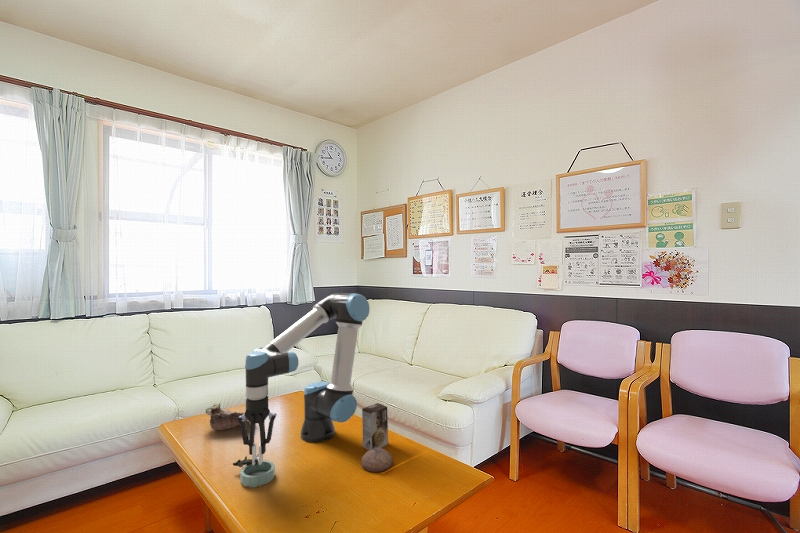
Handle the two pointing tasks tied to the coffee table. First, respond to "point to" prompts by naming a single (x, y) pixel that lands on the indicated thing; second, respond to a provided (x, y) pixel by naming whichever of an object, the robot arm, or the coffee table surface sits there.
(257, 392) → the robot arm
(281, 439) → the coffee table surface
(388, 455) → the decorative stone
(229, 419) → the rock
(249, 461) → the figurine
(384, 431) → the coffee box
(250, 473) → the bowl
